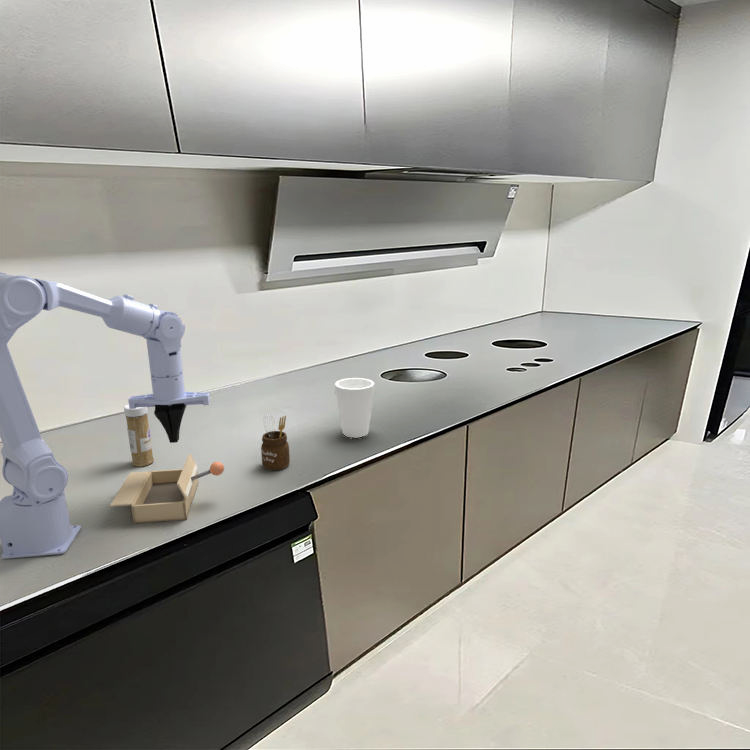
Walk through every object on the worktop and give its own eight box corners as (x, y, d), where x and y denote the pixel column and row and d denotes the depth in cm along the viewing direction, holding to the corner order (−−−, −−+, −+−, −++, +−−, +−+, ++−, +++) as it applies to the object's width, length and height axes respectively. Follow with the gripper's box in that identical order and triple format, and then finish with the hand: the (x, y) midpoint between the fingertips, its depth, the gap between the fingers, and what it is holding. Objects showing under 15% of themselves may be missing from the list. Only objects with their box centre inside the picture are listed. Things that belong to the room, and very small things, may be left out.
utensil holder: (277, 456, 125) (274, 406, 121) (296, 464, 121) (294, 412, 117) (256, 465, 120) (252, 413, 117) (275, 474, 116) (272, 420, 113)
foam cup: (328, 433, 138) (327, 383, 134) (357, 423, 144) (356, 375, 140) (353, 444, 131) (352, 392, 127) (382, 434, 137) (382, 383, 133)
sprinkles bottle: (154, 465, 121) (147, 406, 117) (131, 469, 119) (123, 409, 115) (153, 457, 125) (146, 400, 121) (131, 460, 123) (123, 403, 119)
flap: (176, 483, 98) (212, 469, 98) (188, 454, 110) (221, 440, 110) (186, 502, 99) (222, 487, 99) (197, 470, 111) (229, 457, 111)
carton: (112, 525, 97) (109, 506, 96) (133, 488, 111) (130, 471, 110) (186, 519, 99) (184, 501, 98) (198, 483, 112) (196, 466, 111)
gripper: (209, 366, 109) (215, 430, 113) (132, 369, 107) (140, 435, 111) (204, 376, 103) (210, 444, 106) (121, 380, 101) (131, 449, 105)
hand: (174, 440), depth 108 cm, fingers closed
